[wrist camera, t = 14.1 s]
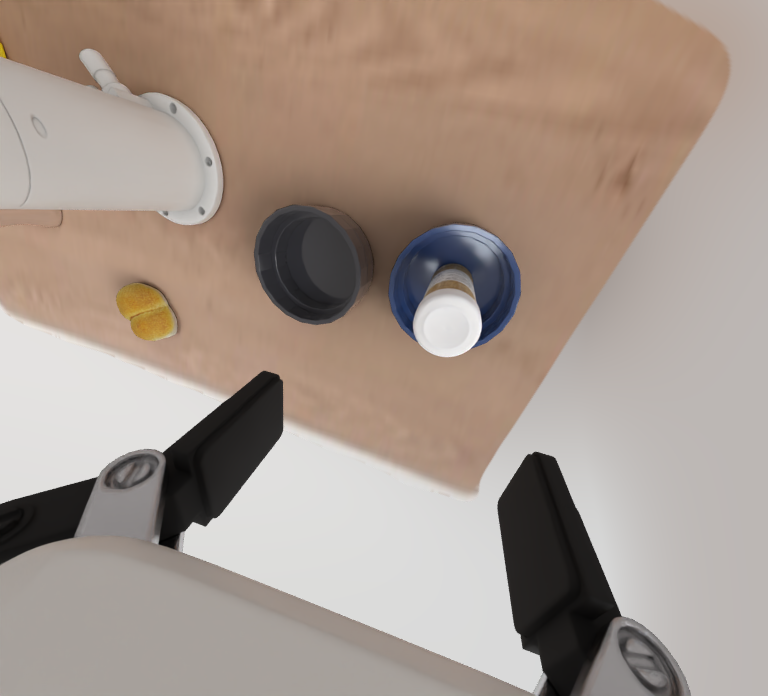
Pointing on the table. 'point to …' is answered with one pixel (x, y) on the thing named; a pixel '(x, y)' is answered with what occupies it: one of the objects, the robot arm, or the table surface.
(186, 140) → the robot arm
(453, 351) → the sprinkles bottle
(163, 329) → the bread roll
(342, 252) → the charcoal bowl
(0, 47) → the watch
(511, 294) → the navy bowl
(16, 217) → the beer glass
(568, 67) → the table surface
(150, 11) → the table surface
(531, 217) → the table surface
